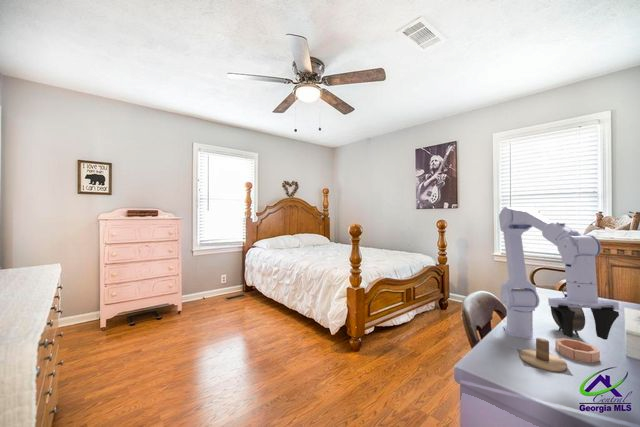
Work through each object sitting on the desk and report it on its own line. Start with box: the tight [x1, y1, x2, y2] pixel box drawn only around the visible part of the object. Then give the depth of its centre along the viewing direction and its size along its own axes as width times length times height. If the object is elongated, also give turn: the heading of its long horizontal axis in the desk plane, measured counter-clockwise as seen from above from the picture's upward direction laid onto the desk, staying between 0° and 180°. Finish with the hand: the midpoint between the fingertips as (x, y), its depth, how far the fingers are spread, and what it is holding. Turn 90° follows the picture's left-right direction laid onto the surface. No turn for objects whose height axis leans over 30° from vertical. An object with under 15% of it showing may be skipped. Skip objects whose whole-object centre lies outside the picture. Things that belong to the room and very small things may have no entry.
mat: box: [516, 348, 574, 377], centre depth 74 cm, size 10×10×1 cm
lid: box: [519, 337, 568, 373], centre depth 74 cm, size 10×10×6 cm
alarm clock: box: [550, 285, 586, 338], centre depth 95 cm, size 11×5×16 cm, turn 168°
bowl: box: [554, 337, 601, 363], centre depth 79 cm, size 9×9×3 cm
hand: (585, 337), depth 68 cm, fingers open, 7 cm apart
